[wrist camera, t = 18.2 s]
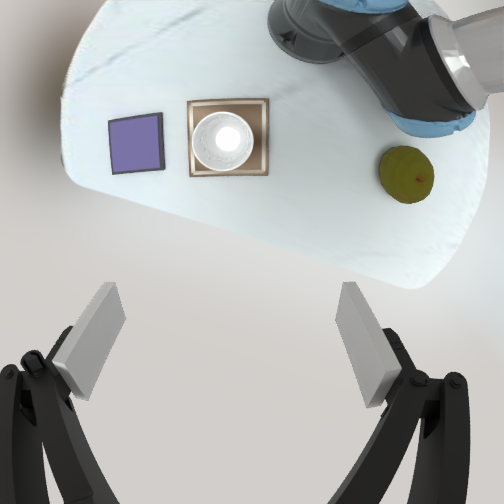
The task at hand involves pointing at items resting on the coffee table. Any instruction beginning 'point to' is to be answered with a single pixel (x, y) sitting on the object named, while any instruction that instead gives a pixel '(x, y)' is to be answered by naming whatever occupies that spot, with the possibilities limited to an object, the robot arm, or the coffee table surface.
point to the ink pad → (136, 143)
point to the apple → (406, 174)
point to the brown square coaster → (256, 118)
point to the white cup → (222, 141)
